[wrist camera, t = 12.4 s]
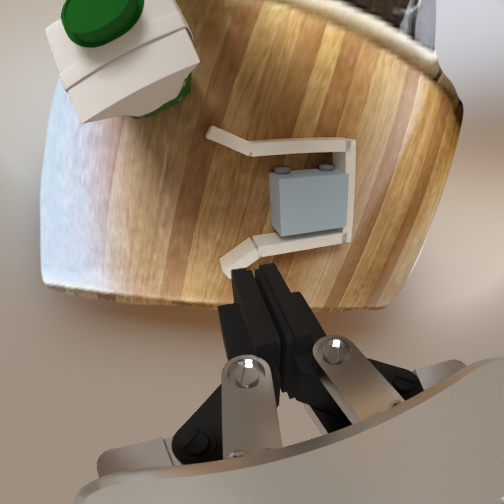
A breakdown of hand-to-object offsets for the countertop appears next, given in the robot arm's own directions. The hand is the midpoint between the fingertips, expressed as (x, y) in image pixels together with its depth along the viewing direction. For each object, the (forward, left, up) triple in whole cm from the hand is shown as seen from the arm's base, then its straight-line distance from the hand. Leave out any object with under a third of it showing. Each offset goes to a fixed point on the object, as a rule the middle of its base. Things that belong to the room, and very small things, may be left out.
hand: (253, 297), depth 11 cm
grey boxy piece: (+4, +12, -25) cm, 28 cm away
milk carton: (-13, -5, -25) cm, 29 cm away
